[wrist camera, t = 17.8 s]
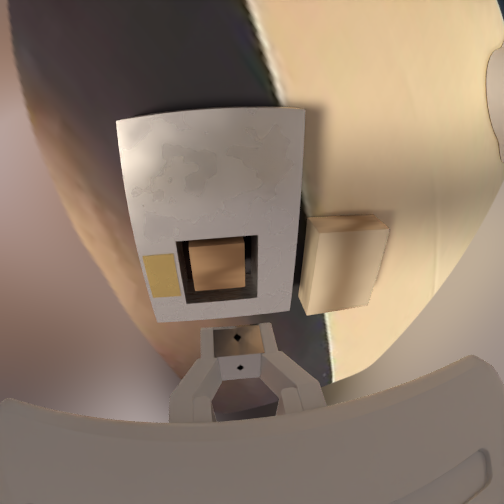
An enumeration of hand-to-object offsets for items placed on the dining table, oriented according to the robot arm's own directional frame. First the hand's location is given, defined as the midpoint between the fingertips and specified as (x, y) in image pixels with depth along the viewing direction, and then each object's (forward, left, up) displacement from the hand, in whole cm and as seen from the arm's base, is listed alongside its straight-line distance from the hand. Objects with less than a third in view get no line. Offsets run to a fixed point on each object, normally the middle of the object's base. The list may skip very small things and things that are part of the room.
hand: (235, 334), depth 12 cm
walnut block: (0, +1, -11) cm, 11 cm away
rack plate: (0, 0, -13) cm, 13 cm away
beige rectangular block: (-11, +5, -13) cm, 18 cm away
